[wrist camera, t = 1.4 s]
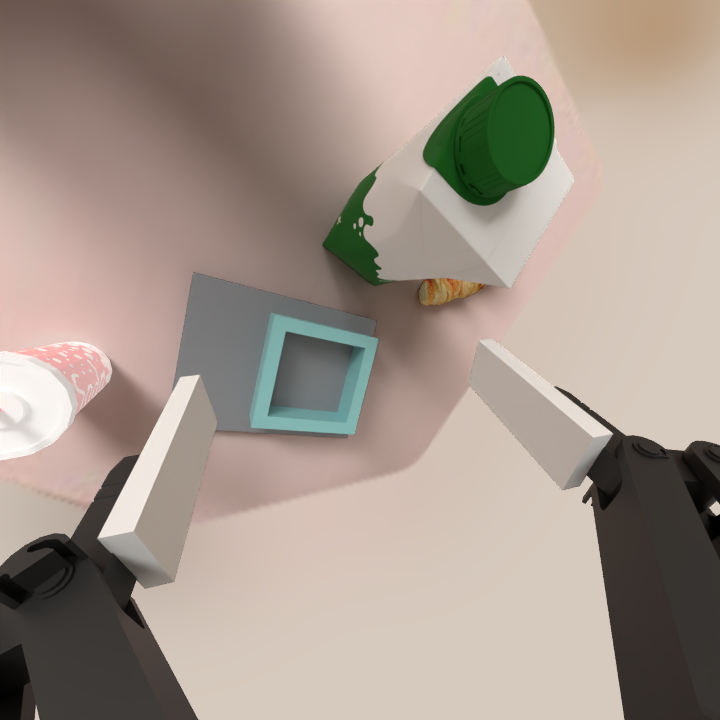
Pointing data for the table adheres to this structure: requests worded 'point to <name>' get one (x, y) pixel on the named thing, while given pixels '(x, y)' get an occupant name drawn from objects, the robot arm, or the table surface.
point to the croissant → (445, 290)
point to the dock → (275, 360)
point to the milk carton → (460, 190)
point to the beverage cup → (46, 393)
